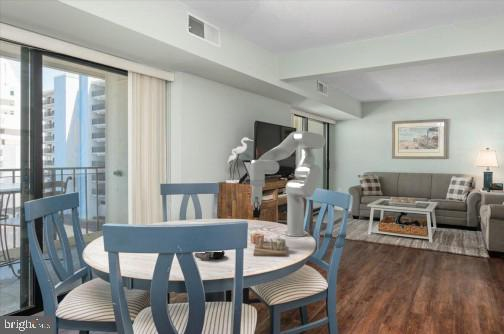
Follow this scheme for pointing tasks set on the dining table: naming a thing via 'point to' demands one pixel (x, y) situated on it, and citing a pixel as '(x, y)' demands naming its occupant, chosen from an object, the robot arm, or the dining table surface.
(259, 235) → the terracotta gear
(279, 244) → the gear board
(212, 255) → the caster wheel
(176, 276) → the dining table surface
